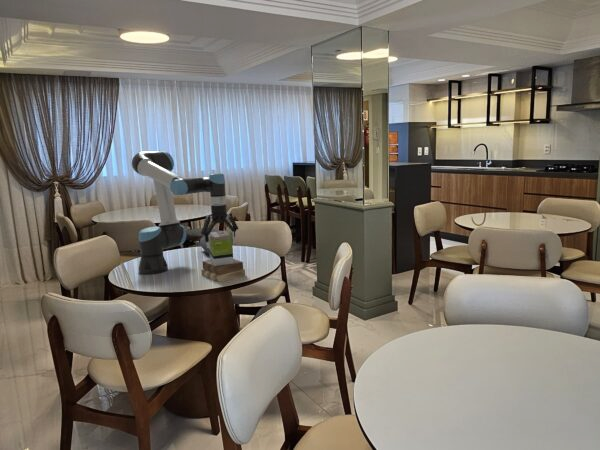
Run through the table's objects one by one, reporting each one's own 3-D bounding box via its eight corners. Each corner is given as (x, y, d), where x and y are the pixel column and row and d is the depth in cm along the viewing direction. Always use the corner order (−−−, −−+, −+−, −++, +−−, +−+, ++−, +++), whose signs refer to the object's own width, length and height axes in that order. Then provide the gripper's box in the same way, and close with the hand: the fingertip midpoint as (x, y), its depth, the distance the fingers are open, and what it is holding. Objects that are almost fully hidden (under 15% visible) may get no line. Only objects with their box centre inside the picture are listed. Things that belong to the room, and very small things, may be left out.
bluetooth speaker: (223, 256, 264) (222, 240, 262) (208, 258, 260) (206, 241, 258) (213, 249, 284) (212, 234, 283) (199, 250, 280) (198, 235, 279)
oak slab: (201, 276, 225) (201, 268, 224) (226, 270, 234) (226, 263, 234) (219, 283, 211) (218, 275, 211) (245, 276, 221) (244, 269, 220)
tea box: (209, 259, 226) (207, 231, 224) (228, 257, 230) (226, 230, 227) (214, 266, 213) (211, 236, 210) (234, 263, 216) (232, 234, 213)
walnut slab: (203, 268, 224) (202, 261, 224) (226, 263, 233) (226, 256, 232) (218, 275, 211) (218, 267, 211) (243, 269, 220) (242, 261, 219)
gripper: (199, 208, 206) (202, 251, 210) (243, 202, 222) (245, 243, 225) (192, 206, 211) (195, 248, 215) (235, 201, 227) (237, 240, 231)
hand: (221, 245), depth 220 cm, fingers open, 13 cm apart
